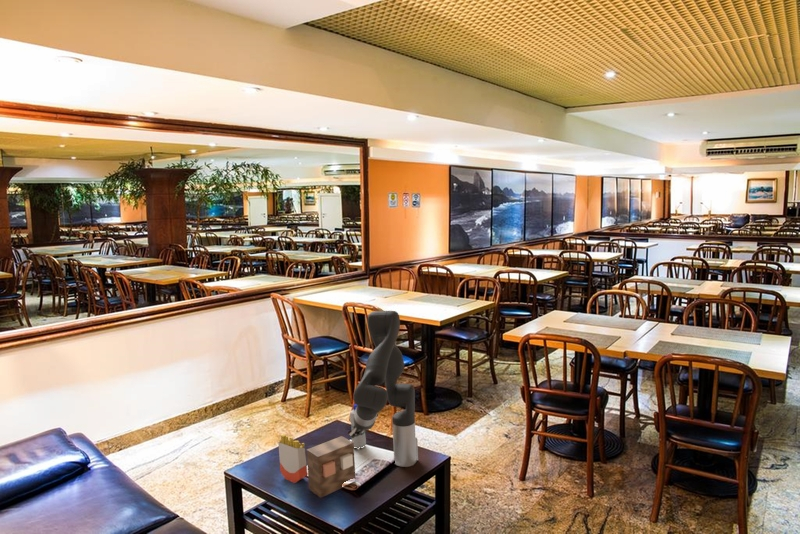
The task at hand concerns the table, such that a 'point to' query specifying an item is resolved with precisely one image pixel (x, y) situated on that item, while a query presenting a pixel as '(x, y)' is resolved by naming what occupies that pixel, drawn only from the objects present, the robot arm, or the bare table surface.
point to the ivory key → (346, 461)
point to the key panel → (326, 454)
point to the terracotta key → (328, 468)
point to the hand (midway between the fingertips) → (360, 432)
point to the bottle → (360, 439)
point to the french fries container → (292, 459)
